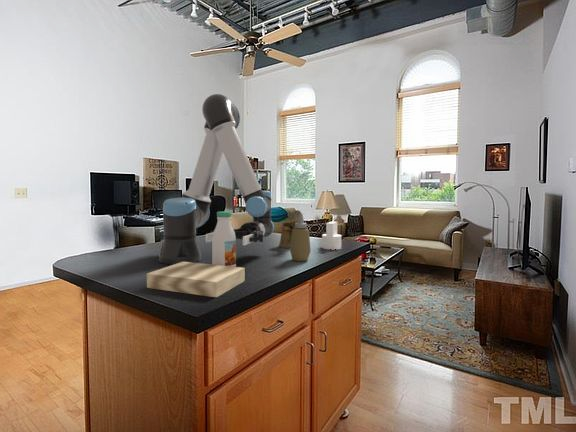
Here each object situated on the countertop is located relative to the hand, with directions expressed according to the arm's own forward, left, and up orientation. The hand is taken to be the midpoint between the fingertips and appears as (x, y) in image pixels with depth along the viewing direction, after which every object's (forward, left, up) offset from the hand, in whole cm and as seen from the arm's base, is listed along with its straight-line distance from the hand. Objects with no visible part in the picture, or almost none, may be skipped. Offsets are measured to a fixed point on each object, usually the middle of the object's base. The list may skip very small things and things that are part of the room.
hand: (224, 239), depth 108 cm
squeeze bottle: (+17, +28, -11) cm, 35 cm away
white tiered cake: (+23, +59, -11) cm, 64 cm away
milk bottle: (-1, +1, -11) cm, 11 cm away
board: (-1, -14, -11) cm, 18 cm away
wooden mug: (+5, +52, -11) cm, 53 cm away
